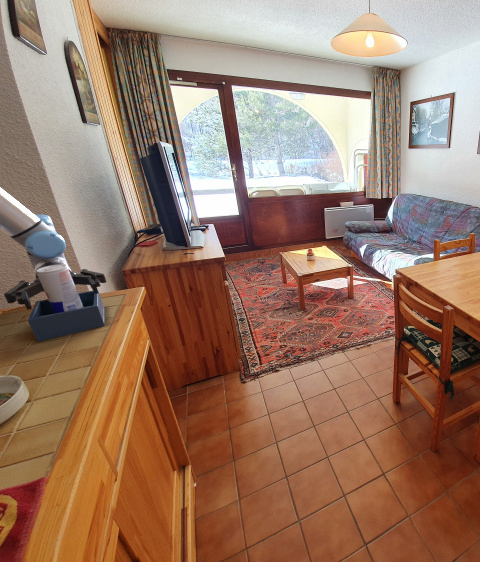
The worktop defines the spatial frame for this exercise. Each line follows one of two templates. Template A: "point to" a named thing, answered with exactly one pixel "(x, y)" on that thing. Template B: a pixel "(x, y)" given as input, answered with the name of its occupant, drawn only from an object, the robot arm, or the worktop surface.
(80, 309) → the tote
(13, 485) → the worktop surface
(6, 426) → the worktop surface
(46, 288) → the beverage can
